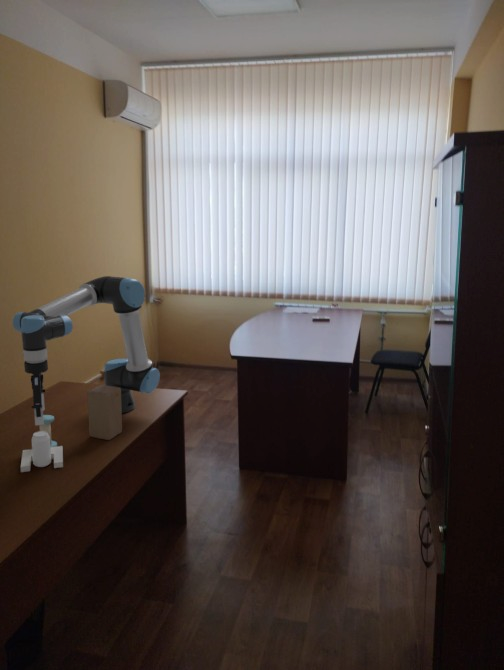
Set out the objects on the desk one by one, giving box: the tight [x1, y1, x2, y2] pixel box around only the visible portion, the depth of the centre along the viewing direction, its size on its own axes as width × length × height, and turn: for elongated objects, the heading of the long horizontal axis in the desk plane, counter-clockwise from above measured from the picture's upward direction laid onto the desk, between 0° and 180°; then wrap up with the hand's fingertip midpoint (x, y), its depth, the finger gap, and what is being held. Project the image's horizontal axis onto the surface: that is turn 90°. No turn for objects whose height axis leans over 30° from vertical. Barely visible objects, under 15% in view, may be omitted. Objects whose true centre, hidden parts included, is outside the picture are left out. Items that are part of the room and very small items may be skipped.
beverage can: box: [31, 430, 52, 468], centre depth 194 cm, size 6×6×12 cm
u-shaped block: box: [20, 445, 64, 473], centre depth 198 cm, size 14×14×2 cm
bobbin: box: [38, 414, 58, 447], centre depth 208 cm, size 8×8×12 cm
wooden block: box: [87, 384, 123, 441], centre depth 220 cm, size 10×10×20 cm
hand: (40, 417), depth 191 cm, fingers open, 13 cm apart
